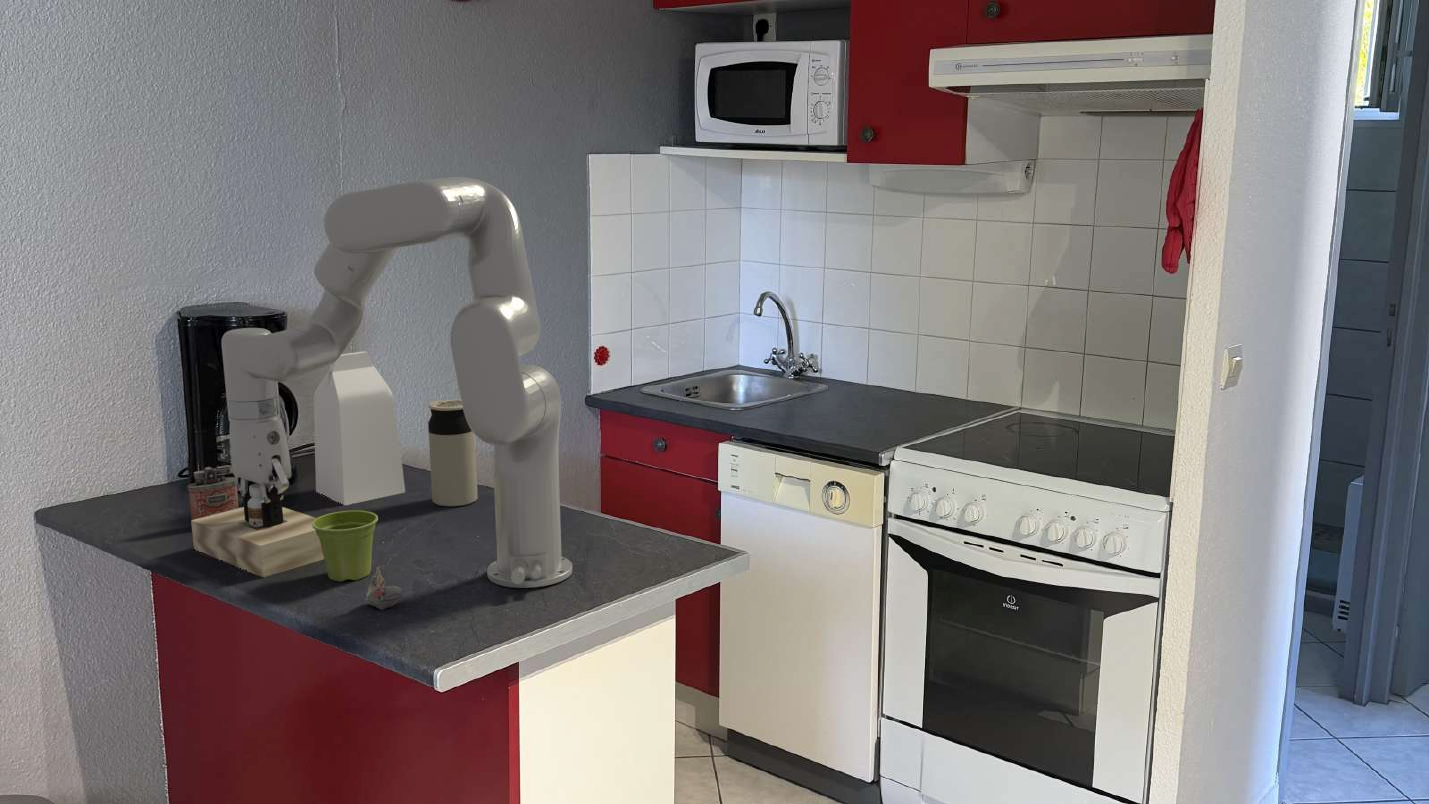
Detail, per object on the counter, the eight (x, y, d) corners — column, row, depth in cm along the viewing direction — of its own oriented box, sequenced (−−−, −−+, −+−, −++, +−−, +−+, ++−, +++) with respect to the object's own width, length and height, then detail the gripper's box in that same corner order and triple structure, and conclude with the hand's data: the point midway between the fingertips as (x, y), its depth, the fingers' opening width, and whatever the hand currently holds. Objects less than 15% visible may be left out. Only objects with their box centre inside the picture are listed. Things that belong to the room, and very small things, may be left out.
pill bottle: (244, 536, 192) (239, 488, 191) (261, 527, 196) (256, 480, 195) (269, 537, 191) (265, 490, 190) (285, 529, 195) (281, 482, 194)
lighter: (195, 531, 205) (189, 474, 203) (188, 527, 208) (183, 469, 206) (244, 522, 210) (238, 465, 208) (237, 517, 213) (232, 461, 211)
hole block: (338, 554, 193) (336, 524, 192) (263, 577, 184) (260, 545, 182) (268, 530, 206) (265, 501, 205) (194, 550, 196) (191, 520, 195)
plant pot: (349, 590, 178) (345, 533, 176) (302, 579, 183) (298, 523, 181) (394, 570, 186) (391, 515, 184) (349, 560, 191) (345, 507, 189)
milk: (344, 505, 220) (334, 362, 214) (316, 492, 228) (305, 353, 222) (405, 492, 227) (396, 353, 222) (375, 479, 236) (366, 346, 230)
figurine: (408, 598, 175) (399, 558, 173) (399, 611, 170) (390, 570, 169) (372, 603, 175) (363, 563, 174) (363, 615, 171) (353, 576, 169)
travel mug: (486, 498, 223) (482, 401, 219) (456, 510, 216) (451, 410, 213) (453, 492, 227) (448, 397, 223) (423, 503, 220) (417, 405, 216)
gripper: (306, 411, 187) (316, 526, 191) (246, 398, 198) (256, 507, 202) (262, 420, 182) (272, 538, 185) (202, 406, 192) (213, 518, 196)
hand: (264, 521), depth 193 cm, fingers closed on pill bottle, 4 cm apart
